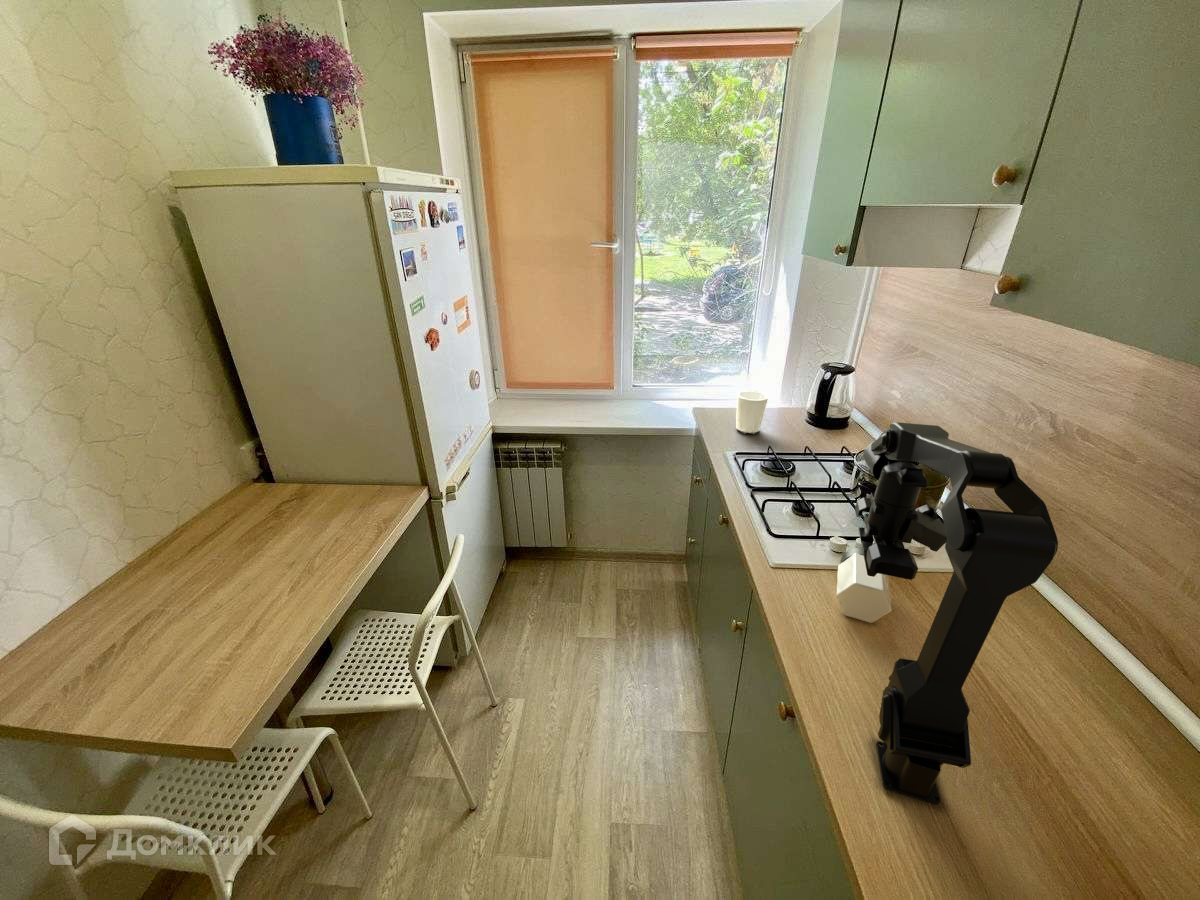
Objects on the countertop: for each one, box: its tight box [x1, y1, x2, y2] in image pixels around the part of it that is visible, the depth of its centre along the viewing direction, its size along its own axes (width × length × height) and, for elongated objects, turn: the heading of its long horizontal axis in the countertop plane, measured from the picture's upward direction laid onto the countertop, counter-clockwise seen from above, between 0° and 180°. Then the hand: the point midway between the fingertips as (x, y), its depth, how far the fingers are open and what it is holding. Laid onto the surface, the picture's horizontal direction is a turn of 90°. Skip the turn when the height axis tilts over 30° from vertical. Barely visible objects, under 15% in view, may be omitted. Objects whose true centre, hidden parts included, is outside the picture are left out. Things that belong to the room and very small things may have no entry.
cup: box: [735, 390, 769, 435], centre depth 164 cm, size 10×10×13 cm
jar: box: [836, 547, 892, 624], centre depth 93 cm, size 9×8×12 cm
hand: (870, 574), depth 84 cm, fingers closed
